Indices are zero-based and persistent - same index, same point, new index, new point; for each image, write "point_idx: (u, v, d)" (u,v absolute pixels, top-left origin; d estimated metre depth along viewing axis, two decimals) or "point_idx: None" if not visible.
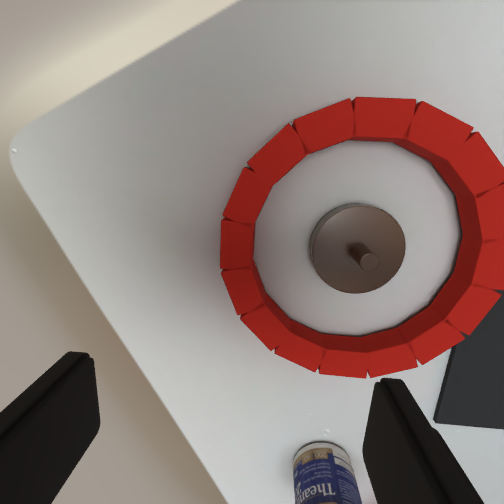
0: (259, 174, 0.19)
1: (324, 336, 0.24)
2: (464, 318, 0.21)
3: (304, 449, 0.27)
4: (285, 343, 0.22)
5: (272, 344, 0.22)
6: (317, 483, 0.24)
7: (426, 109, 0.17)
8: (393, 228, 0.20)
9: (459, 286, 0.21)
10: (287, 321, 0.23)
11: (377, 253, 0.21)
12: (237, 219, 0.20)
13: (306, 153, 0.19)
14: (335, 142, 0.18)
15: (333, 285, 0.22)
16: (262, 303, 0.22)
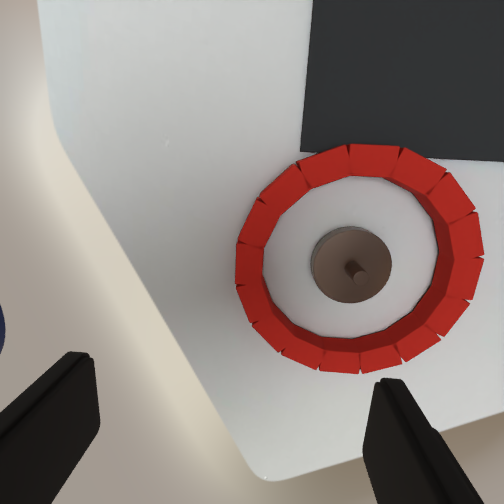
0: (286, 344, 0.26)
1: (434, 285, 0.26)
2: (426, 177, 0.22)
3: None
4: (434, 328, 0.25)
5: (434, 338, 0.25)
6: None
7: (243, 236, 0.24)
8: (333, 241, 0.24)
9: (393, 180, 0.22)
10: (413, 319, 0.26)
11: (355, 252, 0.24)
12: (319, 360, 0.26)
13: (272, 314, 0.25)
14: (265, 295, 0.25)
15: (381, 286, 0.25)
16: (392, 345, 0.26)
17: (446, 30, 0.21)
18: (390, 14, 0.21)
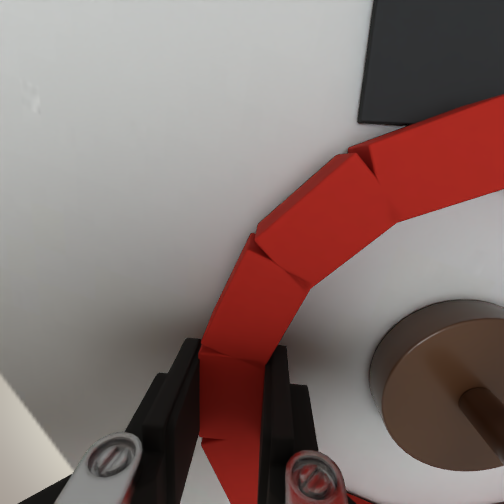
0: None
1: None
2: None
3: None
4: None
5: None
6: None
7: (215, 336, 0.09)
8: (437, 344, 0.10)
9: None
10: None
11: (487, 369, 0.10)
12: None
13: None
14: None
15: None
16: None
17: None
18: None
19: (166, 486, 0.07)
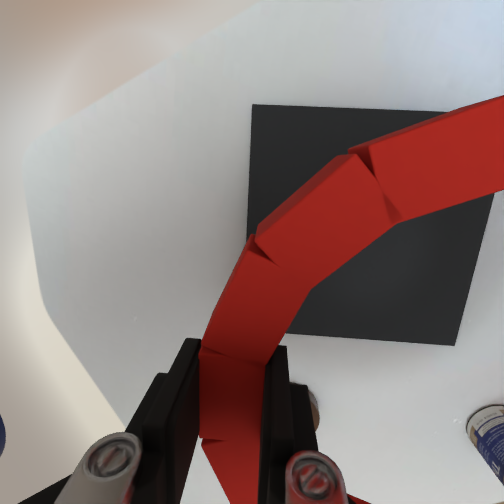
0: None
1: None
2: None
3: None
4: None
5: None
6: (491, 468, 0.27)
7: (215, 337, 0.09)
8: None
9: None
10: None
11: None
12: None
13: None
14: None
15: None
16: None
17: None
18: None
19: (166, 486, 0.07)
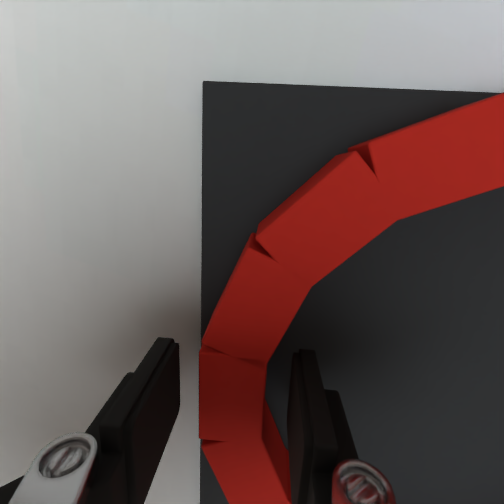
0: None
1: None
2: None
3: None
4: None
5: None
6: None
7: (216, 336, 0.09)
8: None
9: None
10: None
11: None
12: None
13: (287, 503, 0.11)
14: (270, 465, 0.11)
15: None
16: None
17: (431, 408, 0.12)
18: (333, 382, 0.12)
19: (126, 487, 0.07)
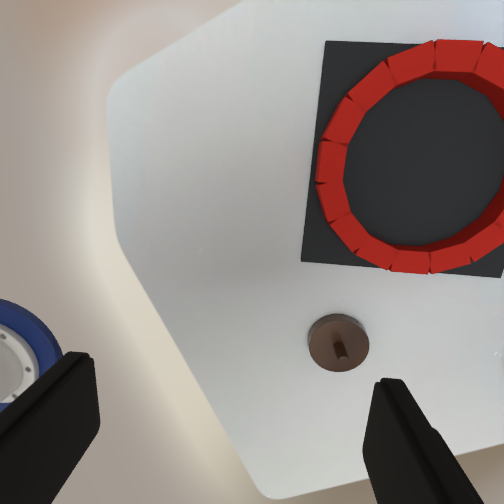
0: (361, 244, 0.28)
1: (502, 188, 0.27)
2: None
3: None
4: None
5: (503, 237, 0.27)
6: None
7: (329, 133, 0.26)
8: (325, 328, 0.32)
9: (473, 78, 0.24)
10: (482, 222, 0.28)
11: (341, 336, 0.32)
12: (391, 260, 0.28)
13: (350, 213, 0.27)
14: (345, 193, 0.27)
15: (361, 360, 0.33)
16: (463, 244, 0.27)
17: (410, 184, 0.28)
18: (368, 172, 0.28)
19: None
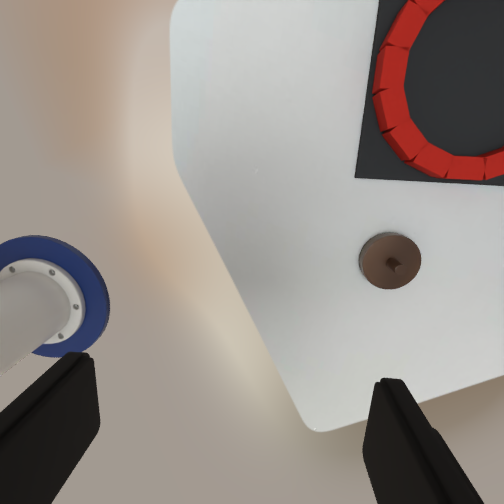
0: (419, 151, 0.29)
1: None
2: None
3: None
4: None
5: None
6: None
7: (393, 37, 0.27)
8: (378, 243, 0.33)
9: None
10: None
11: (394, 251, 0.33)
12: (447, 166, 0.29)
13: (410, 119, 0.29)
14: (405, 99, 0.28)
15: (413, 276, 0.34)
16: None
17: (463, 94, 0.30)
18: (424, 83, 0.30)
19: None
